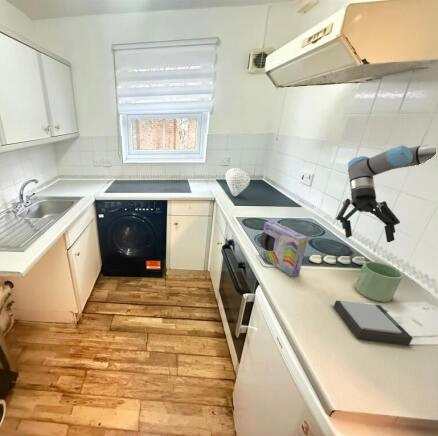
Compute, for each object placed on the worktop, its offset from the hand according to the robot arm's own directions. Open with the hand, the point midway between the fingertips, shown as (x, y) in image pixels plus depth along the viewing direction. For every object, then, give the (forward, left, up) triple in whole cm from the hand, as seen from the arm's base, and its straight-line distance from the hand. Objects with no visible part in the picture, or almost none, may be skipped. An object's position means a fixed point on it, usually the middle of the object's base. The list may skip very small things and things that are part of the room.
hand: (369, 238), depth 92 cm
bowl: (-4, +11, -17) cm, 20 cm away
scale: (0, +31, -17) cm, 36 cm away
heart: (+70, -84, -17) cm, 110 cm away
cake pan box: (+28, +9, -17) cm, 34 cm away
